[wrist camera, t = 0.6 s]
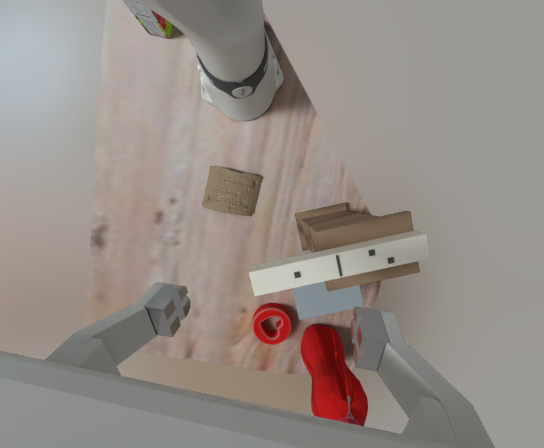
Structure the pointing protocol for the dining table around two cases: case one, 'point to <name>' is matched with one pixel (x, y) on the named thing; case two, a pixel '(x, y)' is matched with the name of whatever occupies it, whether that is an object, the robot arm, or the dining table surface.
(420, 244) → the domino bar
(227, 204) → the clay tablet
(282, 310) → the decorative ornament
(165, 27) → the snack box
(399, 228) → the walnut pedestal
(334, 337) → the water bottle
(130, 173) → the dining table surface
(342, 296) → the slate stand
